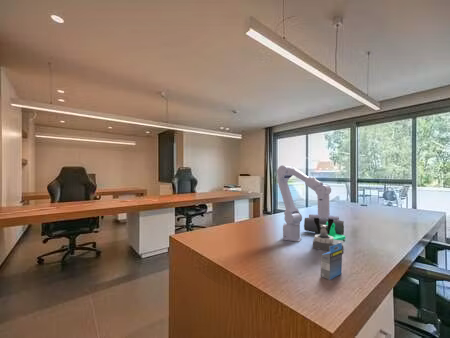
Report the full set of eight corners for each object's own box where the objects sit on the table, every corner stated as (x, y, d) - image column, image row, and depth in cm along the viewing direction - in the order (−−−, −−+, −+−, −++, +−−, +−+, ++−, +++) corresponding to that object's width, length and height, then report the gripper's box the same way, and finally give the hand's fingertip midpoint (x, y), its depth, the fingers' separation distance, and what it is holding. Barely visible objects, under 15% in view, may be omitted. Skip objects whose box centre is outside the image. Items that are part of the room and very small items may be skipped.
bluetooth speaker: (344, 234, 141) (343, 219, 142) (343, 238, 133) (343, 221, 133) (306, 230, 152) (306, 215, 153) (303, 233, 144) (303, 218, 145)
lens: (318, 237, 117) (318, 225, 117) (320, 235, 120) (320, 224, 120) (327, 238, 114) (327, 226, 115) (328, 236, 118) (328, 225, 118)
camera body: (312, 248, 116) (312, 237, 116) (314, 243, 124) (314, 233, 124) (343, 252, 109) (343, 241, 110) (343, 247, 117) (343, 236, 118)
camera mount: (334, 244, 124) (333, 225, 124) (321, 240, 130) (321, 222, 130) (346, 240, 130) (346, 222, 130) (333, 237, 136) (333, 220, 137)
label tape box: (332, 270, 89) (332, 239, 90) (342, 274, 86) (342, 242, 86) (320, 276, 84) (319, 243, 85) (330, 280, 81) (330, 246, 81)
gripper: (307, 207, 118) (308, 233, 118) (338, 209, 111) (339, 236, 111) (309, 205, 124) (310, 230, 124) (338, 207, 117) (339, 233, 117)
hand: (323, 233), depth 118 cm, fingers closed on lens, 4 cm apart
